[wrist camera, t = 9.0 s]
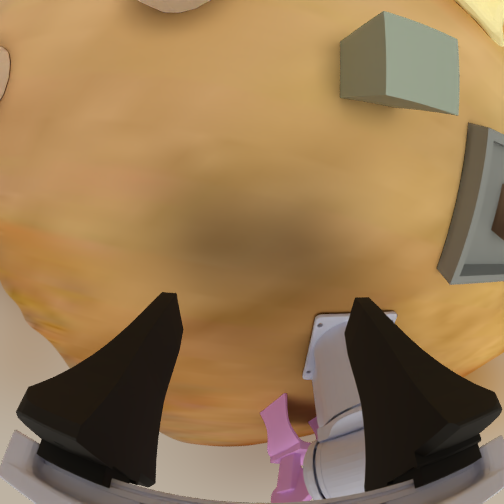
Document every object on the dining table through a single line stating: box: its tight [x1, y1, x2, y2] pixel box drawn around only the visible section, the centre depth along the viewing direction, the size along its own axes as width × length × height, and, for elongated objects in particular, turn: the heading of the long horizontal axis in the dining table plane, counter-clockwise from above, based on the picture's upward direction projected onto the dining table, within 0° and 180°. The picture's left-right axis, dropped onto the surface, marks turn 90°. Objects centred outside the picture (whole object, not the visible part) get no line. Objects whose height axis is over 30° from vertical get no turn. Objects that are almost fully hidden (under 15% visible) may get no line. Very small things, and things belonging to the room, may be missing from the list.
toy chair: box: [260, 393, 319, 503], centre depth 25 cm, size 8×9×15 cm
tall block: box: [340, 11, 459, 116], centre depth 11 cm, size 4×4×7 cm
